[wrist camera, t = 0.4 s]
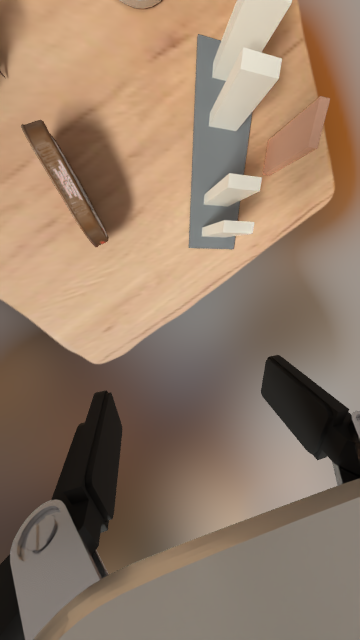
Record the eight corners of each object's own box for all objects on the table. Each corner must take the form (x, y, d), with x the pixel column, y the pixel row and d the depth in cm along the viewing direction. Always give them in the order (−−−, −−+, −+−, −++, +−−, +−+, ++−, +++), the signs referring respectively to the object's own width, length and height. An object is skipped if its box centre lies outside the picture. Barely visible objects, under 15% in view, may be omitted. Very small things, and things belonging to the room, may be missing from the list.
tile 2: (204, 194, 32) (229, 173, 23) (228, 196, 33) (262, 177, 24) (203, 204, 32) (227, 187, 23) (227, 206, 33) (259, 191, 24)
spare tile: (262, 174, 33) (308, 146, 24) (268, 140, 31) (320, 96, 22) (269, 175, 33) (317, 148, 24) (275, 141, 31) (330, 98, 22)
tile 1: (202, 227, 34) (224, 220, 25) (225, 228, 35) (254, 222, 26) (201, 236, 35) (222, 232, 26) (224, 237, 36) (252, 233, 27)
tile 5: (213, 61, 25) (252, -41, 16) (243, 69, 26) (295, -23, 17) (212, 77, 26) (249, -13, 17) (241, 84, 27) (291, 3, 18)
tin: (41, 148, 26) (-1, 105, 18) (61, 139, 26) (27, 94, 18) (99, 248, 32) (87, 248, 24) (115, 241, 32) (107, 239, 25)
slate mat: (197, 37, 24) (198, 34, 24) (258, 55, 26) (260, 52, 26) (188, 247, 35) (189, 247, 35) (232, 249, 37) (233, 249, 37)
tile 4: (209, 112, 28) (243, 47, 19) (237, 118, 29) (282, 58, 20) (208, 126, 28) (240, 68, 19) (236, 131, 29) (278, 78, 20)
